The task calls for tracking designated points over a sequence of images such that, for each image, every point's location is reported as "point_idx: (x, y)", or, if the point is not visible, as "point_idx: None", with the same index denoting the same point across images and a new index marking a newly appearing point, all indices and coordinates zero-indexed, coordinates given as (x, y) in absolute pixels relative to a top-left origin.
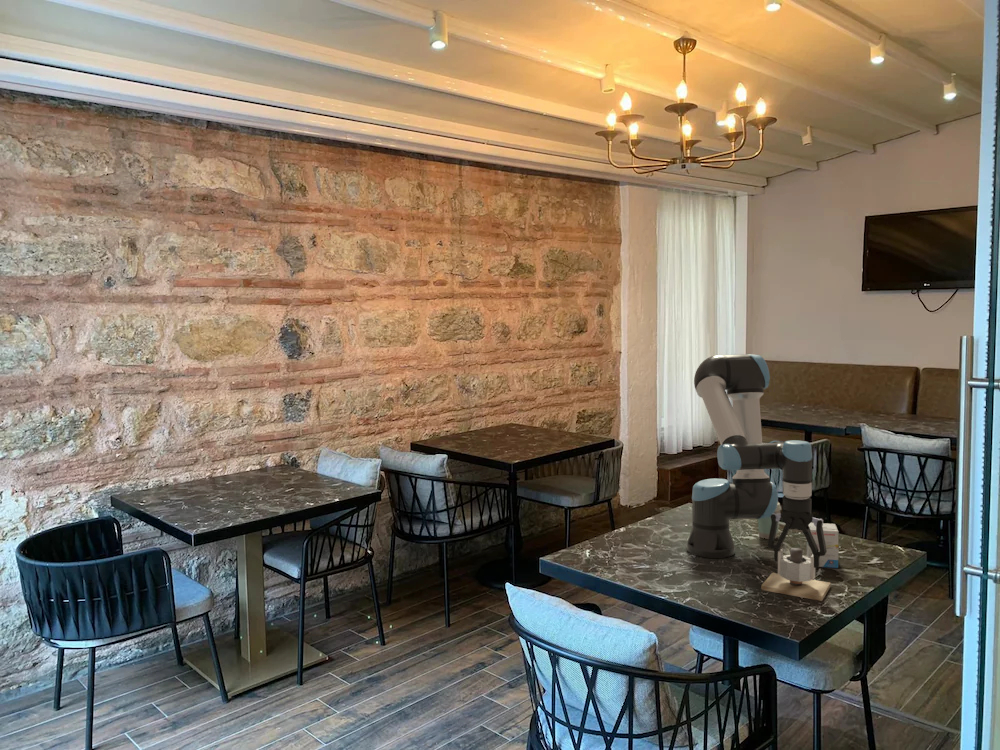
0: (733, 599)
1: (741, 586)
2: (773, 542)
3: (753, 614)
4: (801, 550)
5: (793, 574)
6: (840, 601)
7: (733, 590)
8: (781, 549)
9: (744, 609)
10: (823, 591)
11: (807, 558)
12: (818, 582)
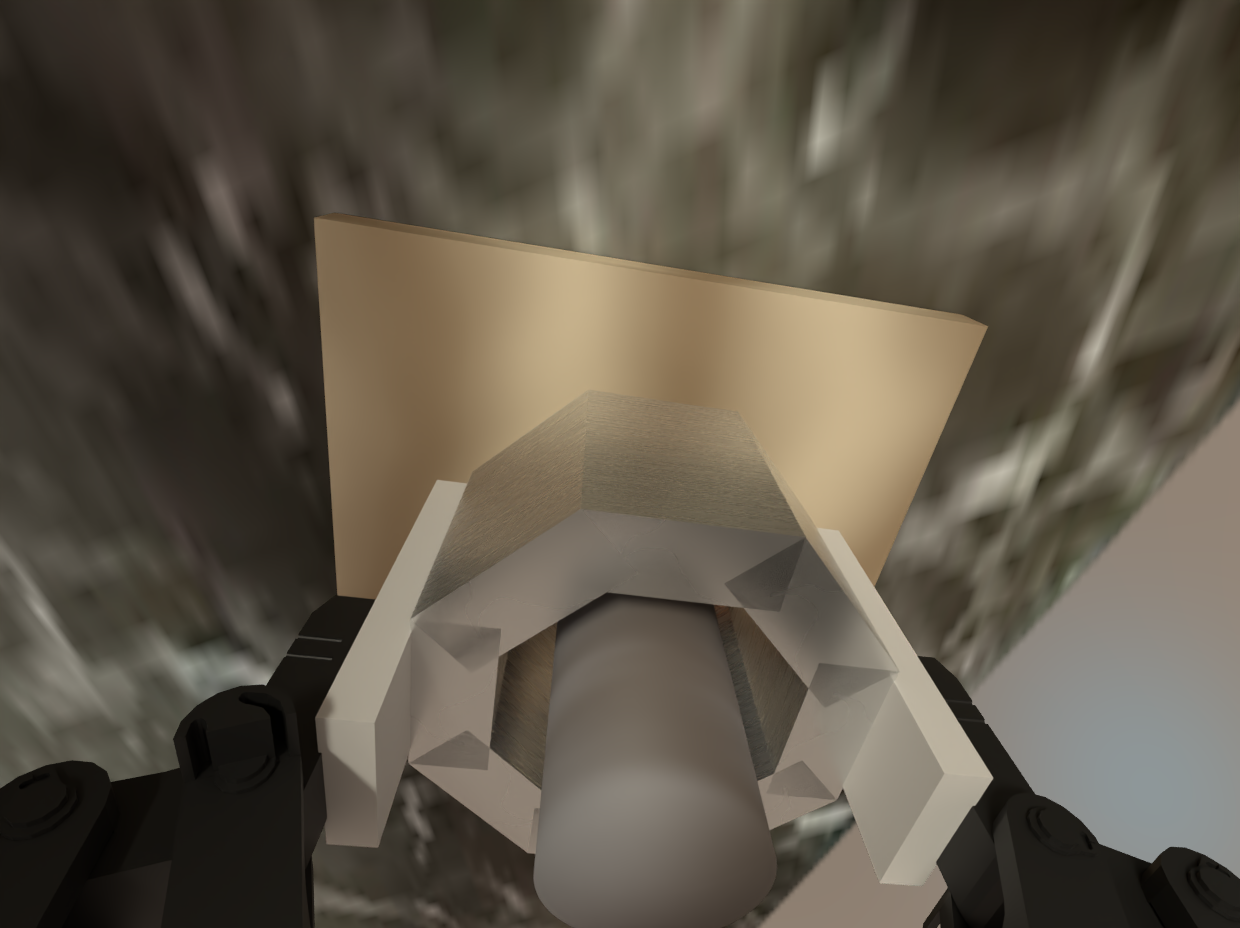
0: None
1: (178, 589)
2: (71, 894)
3: (430, 914)
4: (754, 884)
5: None
6: (959, 614)
7: (166, 680)
8: (342, 720)
9: (364, 885)
10: None
11: (822, 638)
12: (854, 366)
